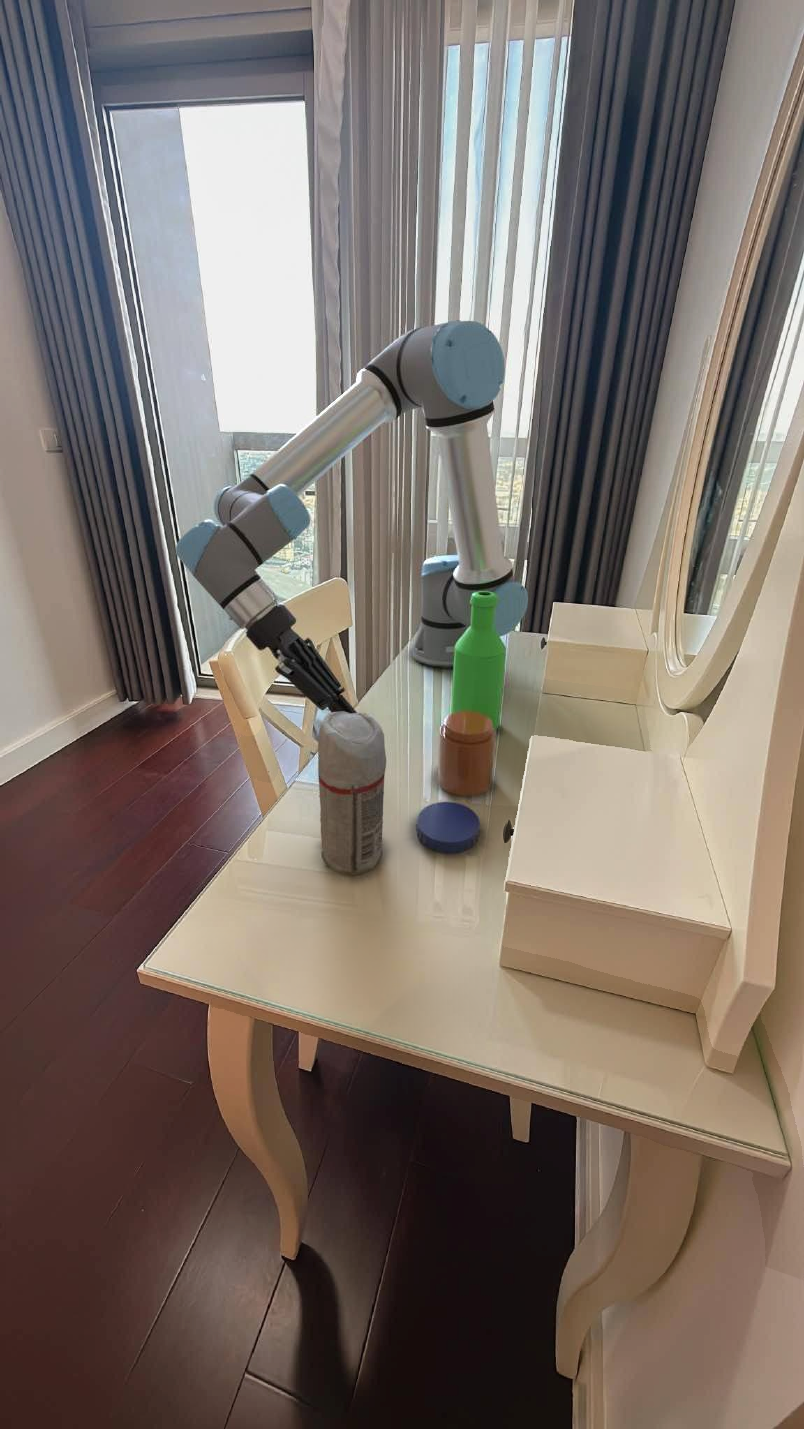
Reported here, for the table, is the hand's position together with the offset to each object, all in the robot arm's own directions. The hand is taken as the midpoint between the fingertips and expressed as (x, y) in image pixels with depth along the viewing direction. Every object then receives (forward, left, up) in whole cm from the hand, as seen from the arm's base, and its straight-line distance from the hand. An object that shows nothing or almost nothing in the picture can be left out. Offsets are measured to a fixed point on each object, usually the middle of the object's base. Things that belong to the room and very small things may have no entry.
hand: (360, 730), depth 92 cm
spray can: (+22, +7, -6) cm, 23 cm away
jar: (+1, +18, -5) cm, 19 cm away
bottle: (-16, +16, -6) cm, 24 cm away
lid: (+14, +18, -4) cm, 23 cm away
